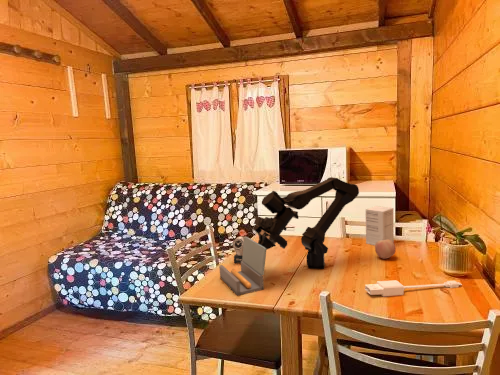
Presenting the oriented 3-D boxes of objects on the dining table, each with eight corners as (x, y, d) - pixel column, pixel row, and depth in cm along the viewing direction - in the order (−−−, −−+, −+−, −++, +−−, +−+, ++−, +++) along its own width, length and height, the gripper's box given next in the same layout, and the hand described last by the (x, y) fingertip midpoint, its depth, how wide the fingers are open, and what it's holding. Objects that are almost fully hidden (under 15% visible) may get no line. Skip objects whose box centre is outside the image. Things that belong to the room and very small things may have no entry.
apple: (392, 254, 153) (392, 236, 151) (398, 261, 145) (398, 242, 144) (373, 255, 153) (373, 237, 152) (377, 261, 146) (377, 242, 145)
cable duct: (244, 272, 142) (243, 260, 141) (263, 289, 126) (262, 275, 125) (220, 278, 138) (219, 265, 137) (237, 295, 122) (236, 281, 121)
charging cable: (465, 291, 118) (466, 282, 117) (371, 297, 114) (371, 288, 114) (455, 285, 123) (455, 276, 122) (364, 291, 119) (364, 281, 119)
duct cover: (242, 260, 141) (244, 260, 141) (261, 275, 125) (263, 275, 125) (244, 236, 140) (246, 236, 141) (264, 248, 124) (266, 248, 124)
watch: (232, 264, 152) (230, 239, 151) (239, 258, 160) (237, 234, 158) (244, 265, 150) (243, 240, 149) (251, 259, 158) (249, 234, 156)
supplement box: (376, 239, 176) (376, 205, 174) (394, 242, 169) (394, 207, 166) (365, 243, 170) (364, 208, 168) (383, 247, 163) (383, 211, 160)
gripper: (256, 204, 141) (231, 235, 138) (278, 212, 124) (250, 248, 121) (274, 221, 145) (251, 251, 143) (298, 230, 128) (272, 266, 126)
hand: (255, 253), depth 133 cm, fingers closed
